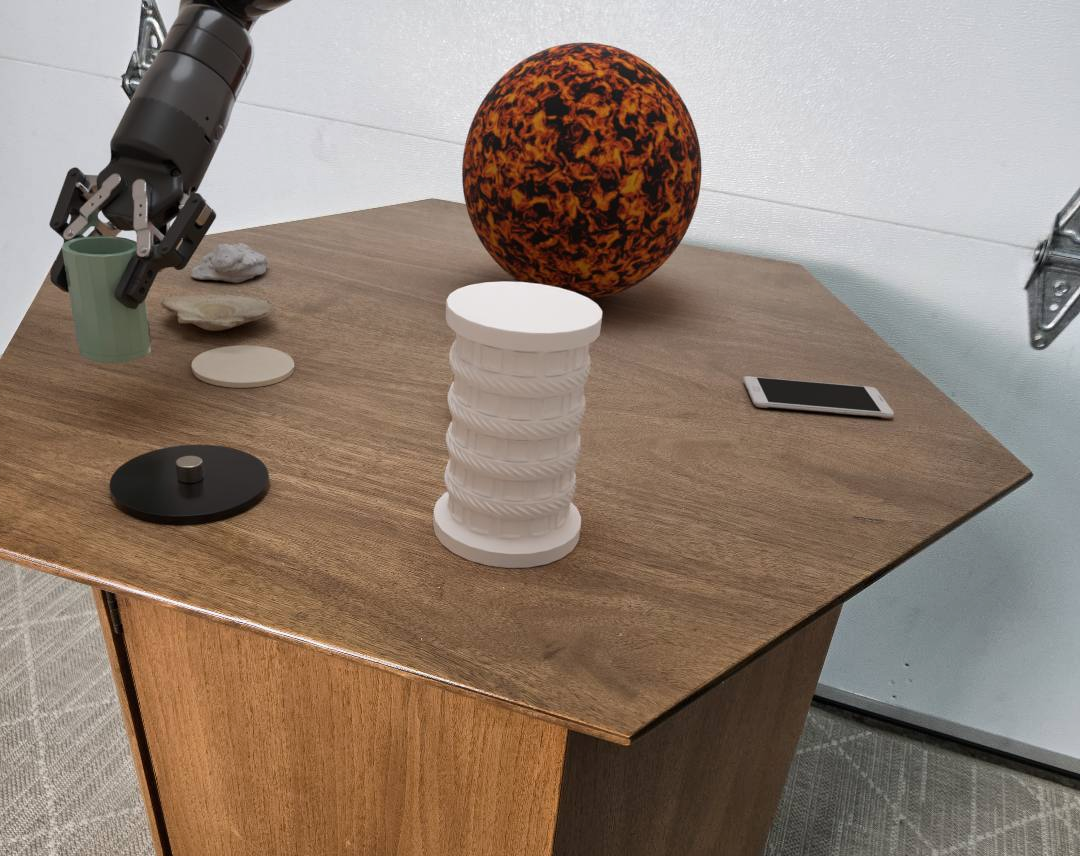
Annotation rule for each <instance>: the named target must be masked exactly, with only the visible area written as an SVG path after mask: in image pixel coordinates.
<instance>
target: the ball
mask: <svg viewBox="0 0 1080 856" xmlns="http://www.w3.org/2000/svg"><path fill="white" fill-rule="evenodd" d="M463 149H464V150H463V155H462V165H461V167H462V168H461V171H462V172H461V178H462V180H461V183H462V191H463V192H462V193H463V198H464V203H465V207H466V210H467V214H468V217H469V219H470V222H471V225H472V228H473V230H474V232H475V234H476V236H477V237H478V240H479V242H480V243H481V244H482V246H483V248H484V249H485V250H486V252H487V254H488V255H489V256H490V257H491V258H492V260H493V261H494V262H495V263H496V264H497V265H498V266H499V267H500V268H501V269H502V270H503V271H504V272H506V273H507V274H508V275H509V276H510V277H512V278H513V279H515V280H516V282H526V283H535V284H543V285H548V286H553V287H558V288H562V289H566V290H569V291H572V292H576V293H578V294H580V295H583V296H585V297H587V298H589V299H591V300H595V299H601V298H605V297H609V296H613V295H615V294H616V295H617V294H619V293H621V292H624V291H626V290H629V289H631V288H632V287H634V286H636V285H638V284H639V283H642V282H643V281H645V280H646V279H647V278H649V277H650V276H652V275H653V274H654V273H655V272H656V271H657V270H659V268H661V267H662V266H663V265H664V264H665V263H666V262H667V260H668V259H670V257H671V256H672V255H673V254H674V252H675V251H676V250H677V248H678V247H679V246H680V243H681V242H682V241H683V239H684V237H685V235H686V233H687V232H688V230H689V228H690V225H691V223H692V220H693V218H694V216H695V212H696V209H697V206H698V202H699V196H700V191H701V185H702V153H701V146H700V142H699V136H698V132H697V128H696V126H695V123H694V122H693V118H692V115H691V114H690V111H689V109H688V107H687V106H686V103H685V102H684V100H683V99H682V97H681V95H680V93H678V91H677V90H676V88H675V87H674V85H673V84H672V83H671V82H670V81H669V79H668V78H666V77H665V76H664V75H663V74H662V73H661V72H660V71H659V70H658V69H656V67H654V66H653V65H651V64H650V63H649V62H647V61H646V60H644V59H643V58H641V57H640V56H637V55H635V54H633V53H632V52H629V51H627V50H625V49H622V48H619V47H617V46H616V47H615V46H614V45H609V44H604V43H599V42H570V43H564V44H559V45H555V46H552V47H548V48H545V49H543V50H541V51H538V52H536V53H534V54H532V55H530V56H528V57H526V58H524V59H523V60H521V61H520V62H518V63H516V64H515V65H514V66H513V67H512V68H510V69H509V70H508V71H507V72H506V73H504V74H503V75H502V76H501V77H500V78H499V79H498V80H497V81H496V82H495V84H494V85H493V86H492V87H491V88H490V90H489V91H488V92H487V94H486V95H485V96H484V98H483V99H482V101H481V103H480V105H479V106H478V108H477V110H476V112H475V114H474V116H473V118H472V121H471V124H470V126H469V130H468V132H467V135H466V140H465V144H464V148H463Z"/></svg>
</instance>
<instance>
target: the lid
mask: <svg viewBox="0 0 1080 856" xmlns="http://www.w3.org/2000/svg"><path fill="white" fill-rule="evenodd" d="M108 485H109V493H110V497H111V498H110V499H111V501H112V502H113V504H114V505H115V506H116V507H117V508H118V509H119V510H120V511H121V512H123V513H125V514H126V515H128V516H130V517H132V518H135V519H138V520H140V521H144V522H149V523H154V524H160V525H161V524H162V525H170V526H173V525H174V526H189V525H190V526H191V525H201V524H207V523H212V522H217V521H222V520H226V519H229V518H232V517H234V516H238V515H240V514H242V513H244V512H246V511H249V510H250V509H252V508H254V507H255V506H256V505H258V504H259V503H260V502H261V501H262V500H264V498H265V496H266V495H267V494H268V492H269V489H270V473H269V470H268V467H267V466H266V465H265V463H264V462H263V461H262V460H261V459H260V458H258V457H256V456H255V455H253V454H251V453H249V452H247V451H244V450H241V449H238V448H234V447H229V446H223V445H216V444H182V445H174V446H168V447H163V448H158V449H154V450H152V451H151V450H150V451H148V452H145V453H142V454H139V455H137V456H135V457H133V458H131V459H129V460H127V461H125V462H124V463H123V464H122V465H120V466H118V468H116V470H115V471H114V472H113V473H112V475H111V477H110V479H109V484H108Z"/></svg>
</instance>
